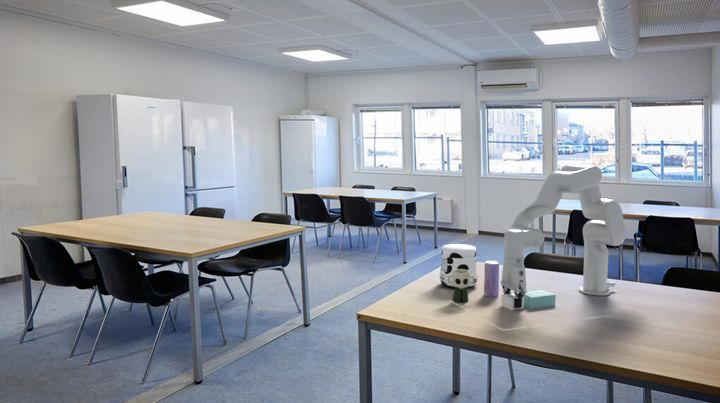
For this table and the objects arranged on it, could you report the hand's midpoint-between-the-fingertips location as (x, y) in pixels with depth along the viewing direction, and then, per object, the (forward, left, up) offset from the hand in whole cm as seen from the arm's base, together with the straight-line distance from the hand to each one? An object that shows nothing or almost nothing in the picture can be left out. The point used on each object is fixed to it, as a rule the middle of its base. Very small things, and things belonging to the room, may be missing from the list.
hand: (512, 304), depth 213 cm
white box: (0, 0, -1) cm, 1 cm away
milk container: (+3, -37, -2) cm, 37 cm away
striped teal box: (-11, 0, -1) cm, 11 cm away
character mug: (+15, -15, -2) cm, 21 cm away
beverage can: (-1, -17, -2) cm, 17 cm away
